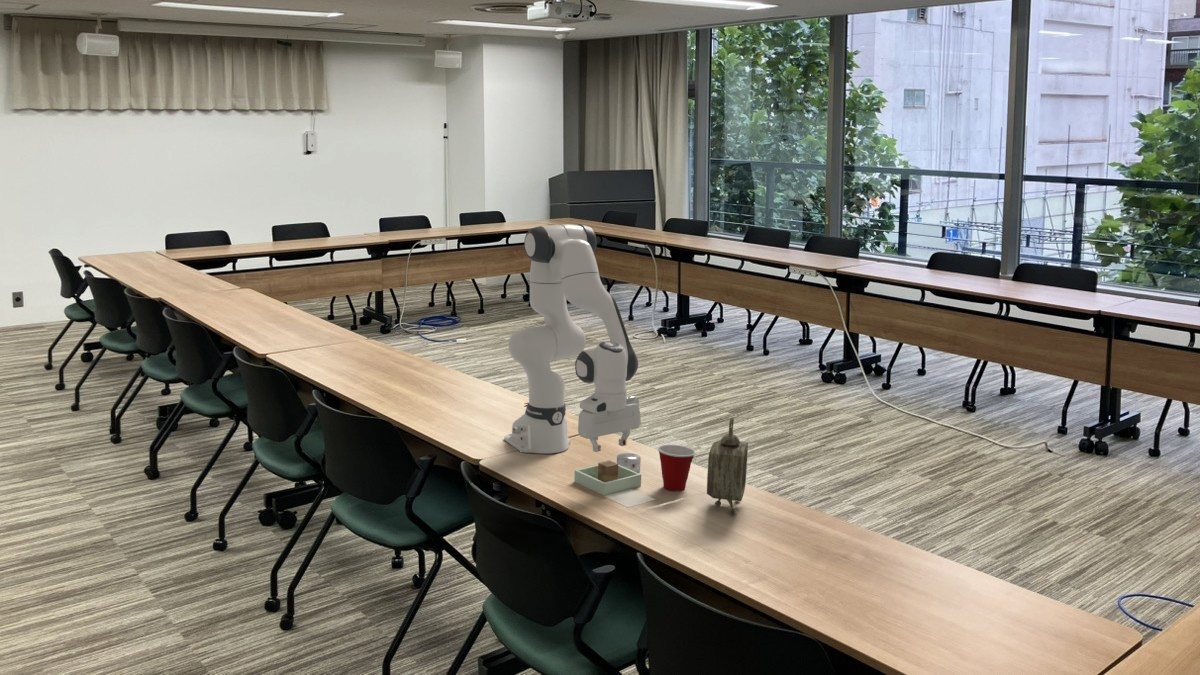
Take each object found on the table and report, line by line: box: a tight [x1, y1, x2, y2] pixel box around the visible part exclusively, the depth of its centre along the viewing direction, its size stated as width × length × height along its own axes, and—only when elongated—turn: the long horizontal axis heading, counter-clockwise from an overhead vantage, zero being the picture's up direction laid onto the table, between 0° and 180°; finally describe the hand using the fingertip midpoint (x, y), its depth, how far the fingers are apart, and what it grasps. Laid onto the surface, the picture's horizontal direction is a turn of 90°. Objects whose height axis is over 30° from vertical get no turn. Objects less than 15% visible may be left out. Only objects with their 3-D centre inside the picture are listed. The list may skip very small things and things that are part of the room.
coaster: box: [603, 488, 656, 508], centre depth 280 cm, size 10×10×1 cm
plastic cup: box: [657, 444, 697, 492], centre depth 288 cm, size 11×11×12 cm
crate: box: [573, 464, 642, 496], centre depth 290 cm, size 13×13×4 cm
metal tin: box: [616, 452, 642, 474], centre depth 301 cm, size 7×7×5 cm
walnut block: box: [597, 460, 618, 482], centre depth 290 cm, size 4×4×6 cm
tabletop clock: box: [706, 417, 749, 516], centre depth 275 cm, size 14×9×25 cm, turn 166°
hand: (609, 448), depth 288 cm, fingers open, 8 cm apart
